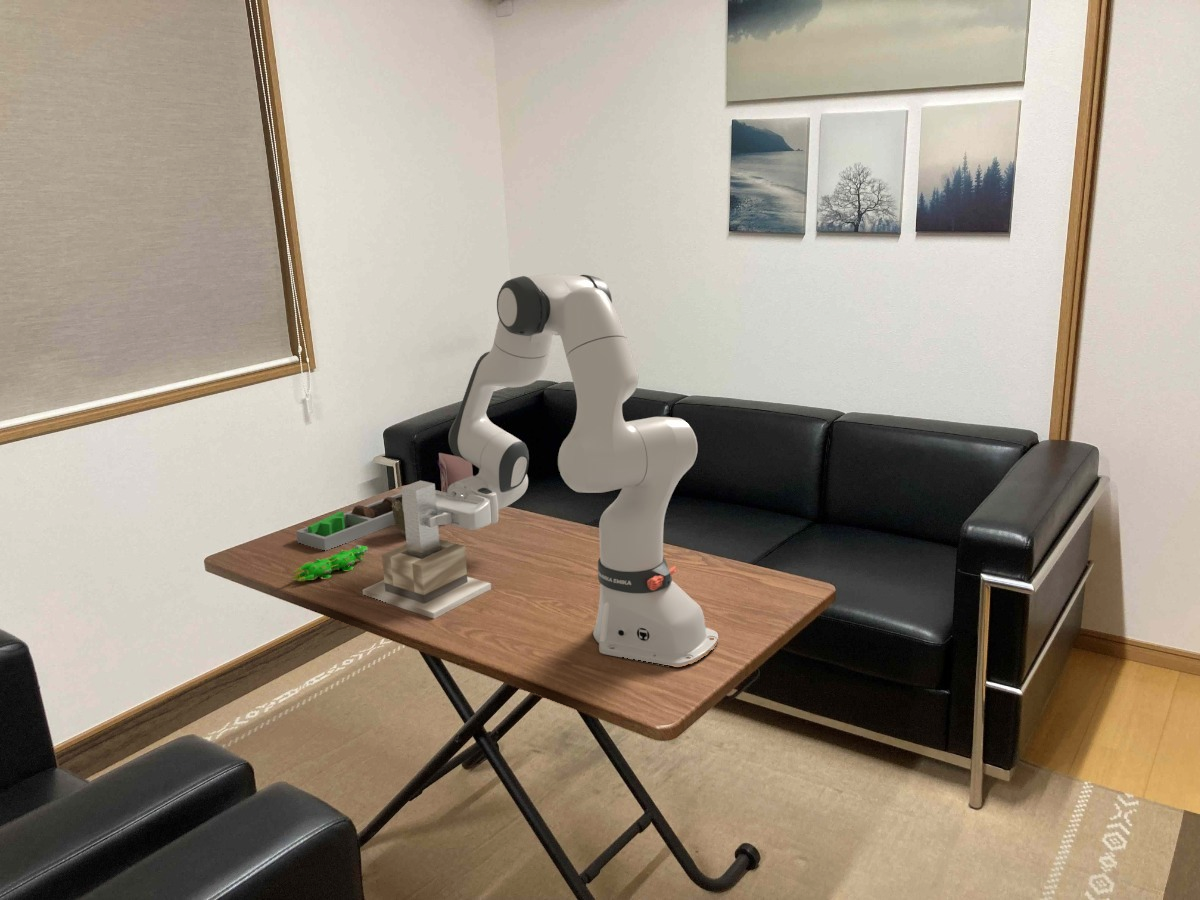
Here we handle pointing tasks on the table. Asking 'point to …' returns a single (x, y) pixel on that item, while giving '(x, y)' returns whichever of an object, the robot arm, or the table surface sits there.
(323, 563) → the crocodile figurine
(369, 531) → the parts tray
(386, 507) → the bolt
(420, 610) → the square socket base
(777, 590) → the table surface
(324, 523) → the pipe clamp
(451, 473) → the greeting card
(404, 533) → the cup
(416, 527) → the grey rectangular bar
